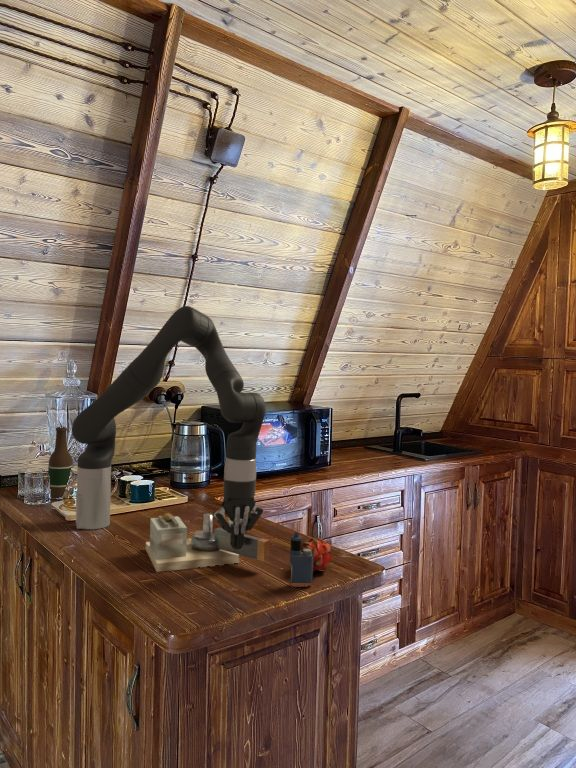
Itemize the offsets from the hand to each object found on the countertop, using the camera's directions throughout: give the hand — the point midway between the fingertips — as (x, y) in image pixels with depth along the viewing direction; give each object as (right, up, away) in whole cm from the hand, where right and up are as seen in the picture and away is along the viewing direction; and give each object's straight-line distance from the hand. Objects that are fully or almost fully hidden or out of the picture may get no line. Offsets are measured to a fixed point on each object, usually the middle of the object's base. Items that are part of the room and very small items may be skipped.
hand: (236, 548), depth 141 cm
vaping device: (+15, -6, -8) cm, 18 cm away
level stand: (-12, -4, +8) cm, 15 cm away
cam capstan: (-2, -2, +5) cm, 6 cm away
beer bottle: (-65, +1, +59) cm, 88 cm away
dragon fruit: (+18, -6, +2) cm, 19 cm away
